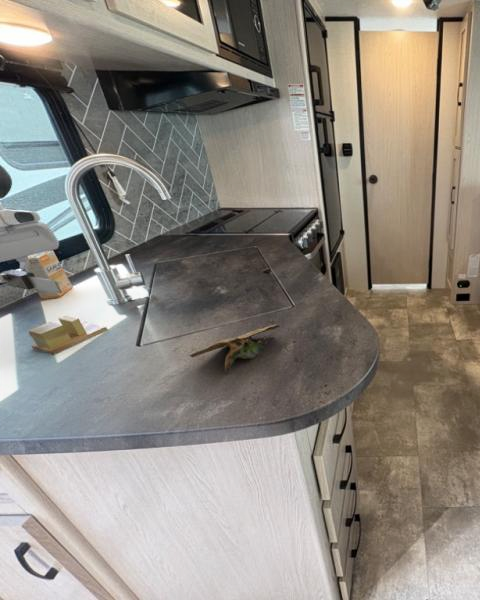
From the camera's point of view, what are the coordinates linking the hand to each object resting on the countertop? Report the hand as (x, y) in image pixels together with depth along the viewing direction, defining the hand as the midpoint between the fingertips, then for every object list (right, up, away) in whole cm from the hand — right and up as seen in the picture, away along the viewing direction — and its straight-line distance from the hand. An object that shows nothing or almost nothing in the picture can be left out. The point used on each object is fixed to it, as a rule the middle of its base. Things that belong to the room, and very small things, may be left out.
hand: (15, 278), depth 74 cm
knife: (+6, -2, -1) cm, 6 cm away
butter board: (+11, -15, +2) cm, 18 cm away
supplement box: (-18, -3, +26) cm, 32 cm away
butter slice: (+11, -13, +3) cm, 18 cm away
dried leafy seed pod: (+56, -18, -6) cm, 59 cm away
